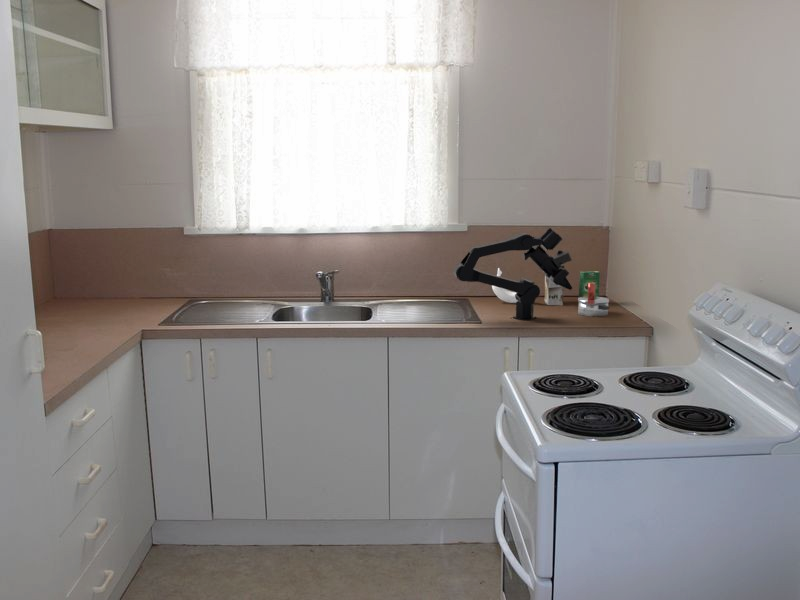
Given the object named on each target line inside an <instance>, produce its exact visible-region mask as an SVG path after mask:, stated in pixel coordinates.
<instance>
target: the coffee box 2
mask: <svg viewBox="0 0 800 600" xmlns="http://www.w3.org/2000/svg"><path fill="white" fill-rule="evenodd" d="M579 272H580V274H579V285H578V298H579V297H587V296H588V283H595V296H596V297H600V296H599V295H600V292H599V291H600V283H601V281H600V280H601V279H600V278H601V272H600V271H596V270H594V271H579Z"/></svg>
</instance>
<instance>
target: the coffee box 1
mask: <svg viewBox="0 0 800 600" xmlns="http://www.w3.org/2000/svg"><path fill="white" fill-rule="evenodd" d="M561 266H562V267H561V268H564V269H565V266H566V265H564V264H562V265H561ZM564 289H565V288H564V287H562V286H560V285H556V284H555V283H554V282H552V281H551V277H550V278H547V277H546V276H545V275H544V303H545V304H546V305H548V306H563V305H564Z"/></svg>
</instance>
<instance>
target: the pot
mask: <svg viewBox="0 0 800 600" xmlns="http://www.w3.org/2000/svg"><path fill="white" fill-rule="evenodd" d="M609 310H610V306H609V303H606V304H586V303H581V302H578V310H577V313H578V315H580V316H585V317H592V316H595V317H598V318H599V316H600V317H605V316H606V317H607V316H608V315H609V314H608V313H609Z"/></svg>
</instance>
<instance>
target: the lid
mask: <svg viewBox="0 0 800 600" xmlns="http://www.w3.org/2000/svg"><path fill="white" fill-rule="evenodd" d="M577 302H578V303H579V302H581V303H586V304H606V303H608V304H609V303H610V299H609V298H608V297H603V296H599V297H596V296H595V283H588V296H587V297H579V296H578V298H577Z"/></svg>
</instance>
